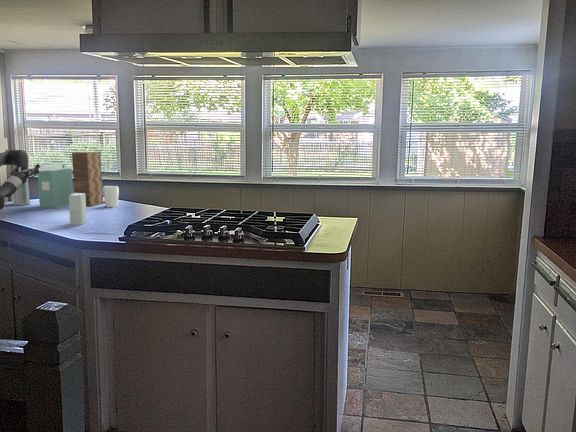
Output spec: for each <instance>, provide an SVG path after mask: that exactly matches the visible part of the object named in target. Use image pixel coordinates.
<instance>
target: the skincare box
mask: <svg viewBox="0 0 576 432" xmlns="http://www.w3.org/2000/svg"><path fill="white" fill-rule="evenodd" d="M68 206H69V225H70V226H83V225H84V224H85V223H87V207H86V197H85V193H74V192H73V194H71V195H69V205H68Z"/></svg>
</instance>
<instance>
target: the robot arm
mask: <svg viewBox="0 0 576 432" xmlns="http://www.w3.org/2000/svg"><path fill="white" fill-rule="evenodd" d="M2 166H16V167H15V168H14V169H13V170H12V171H10V176H9V177H8V178H7V179H6V180H5V182H3V183H2V184H1V186H0V211H1V210H3V209H4V207H5V204H6V201H5V198H10V197H11V204H12V205H13V206H25V205H26V206H27V205H30V203H31V202H30V190H29V189H30V188H29V178H30V177H31V178H32V179H34V178H35V177H36V176H38V175H37V174H38V173H39V170H38V169H39V168H40V167H41V166H40V163H37V164H36V165H34V166H33V167H32V168H30V167H29V156H28V153H27V152H26V150H23V149H11V150H8V151H3V152H0V167H2Z"/></svg>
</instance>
